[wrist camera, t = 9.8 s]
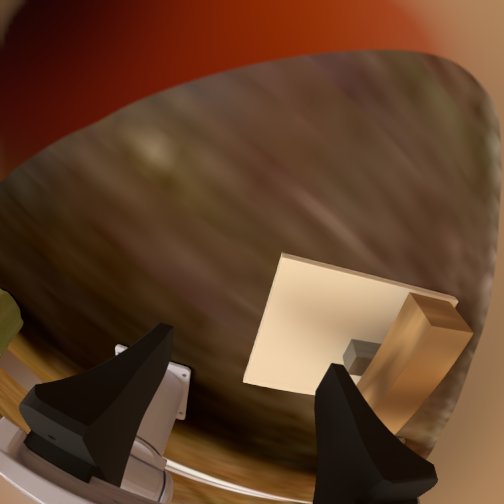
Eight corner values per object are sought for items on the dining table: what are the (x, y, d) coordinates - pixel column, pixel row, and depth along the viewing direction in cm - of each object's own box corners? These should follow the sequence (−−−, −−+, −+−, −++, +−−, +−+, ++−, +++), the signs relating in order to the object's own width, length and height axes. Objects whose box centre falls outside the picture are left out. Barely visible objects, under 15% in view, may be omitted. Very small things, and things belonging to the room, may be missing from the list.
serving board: (390, 397, 26) (392, 402, 25) (244, 376, 26) (243, 382, 25) (454, 296, 21) (458, 301, 20) (281, 252, 21) (281, 256, 20)
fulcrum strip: (407, 365, 23) (414, 381, 21) (342, 356, 23) (345, 374, 21) (417, 349, 22) (425, 365, 20) (351, 338, 22) (356, 356, 20)
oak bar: (370, 419, 23) (377, 451, 20) (334, 416, 23) (337, 451, 20) (449, 301, 18) (473, 333, 14) (409, 292, 18) (431, 326, 14)
